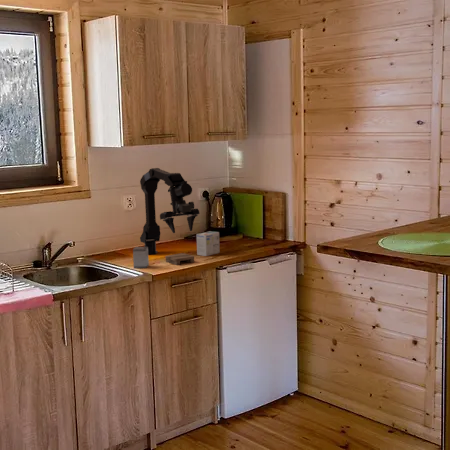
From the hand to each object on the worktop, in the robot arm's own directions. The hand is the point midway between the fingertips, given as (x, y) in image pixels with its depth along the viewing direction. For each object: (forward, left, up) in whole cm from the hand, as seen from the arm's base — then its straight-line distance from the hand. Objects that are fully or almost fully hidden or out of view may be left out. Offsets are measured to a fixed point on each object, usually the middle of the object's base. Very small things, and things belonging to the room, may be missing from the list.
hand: (182, 232), depth 325 cm
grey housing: (+4, -20, -16) cm, 25 cm away
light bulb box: (-25, +9, -16) cm, 31 cm away
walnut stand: (-5, -3, -15) cm, 16 cm away
